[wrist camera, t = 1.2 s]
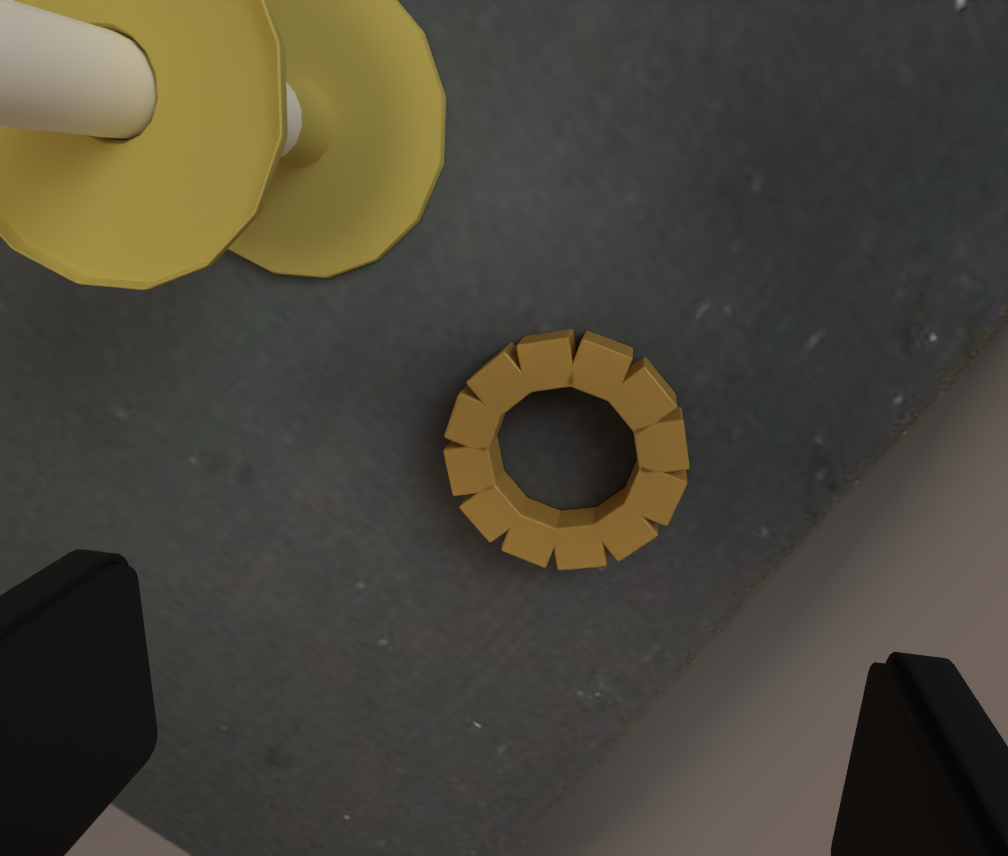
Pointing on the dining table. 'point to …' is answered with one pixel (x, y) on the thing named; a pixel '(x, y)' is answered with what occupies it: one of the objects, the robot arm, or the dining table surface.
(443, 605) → the dining table surface
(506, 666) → the dining table surface
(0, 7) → the candle
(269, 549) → the dining table surface
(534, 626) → the dining table surface
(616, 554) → the ring
